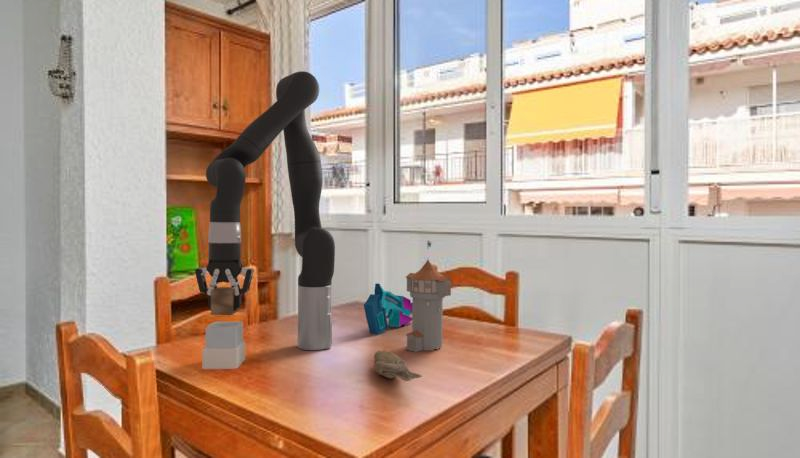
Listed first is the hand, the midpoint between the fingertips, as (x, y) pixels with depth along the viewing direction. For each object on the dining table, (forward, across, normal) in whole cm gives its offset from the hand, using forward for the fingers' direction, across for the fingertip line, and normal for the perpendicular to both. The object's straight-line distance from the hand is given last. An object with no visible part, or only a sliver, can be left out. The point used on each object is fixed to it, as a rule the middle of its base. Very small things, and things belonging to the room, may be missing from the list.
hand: (224, 309), depth 122 cm
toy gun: (+13, -42, -38) cm, 58 cm away
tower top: (+9, 0, 0) cm, 9 cm away
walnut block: (+1, 0, 0) cm, 1 cm away
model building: (+13, -51, -15) cm, 55 cm away
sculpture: (+13, -41, +13) cm, 45 cm away
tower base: (+14, 0, 0) cm, 14 cm away
